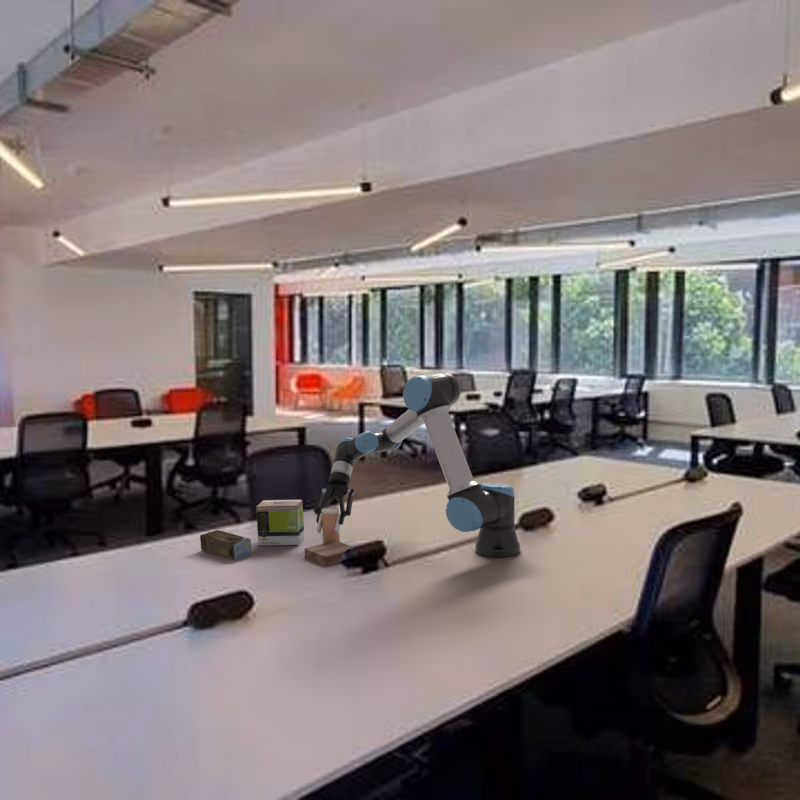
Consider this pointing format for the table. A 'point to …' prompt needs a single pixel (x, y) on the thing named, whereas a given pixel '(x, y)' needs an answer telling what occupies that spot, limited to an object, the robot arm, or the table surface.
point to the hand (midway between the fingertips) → (327, 531)
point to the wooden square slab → (326, 552)
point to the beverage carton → (225, 544)
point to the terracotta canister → (329, 524)
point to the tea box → (280, 522)
